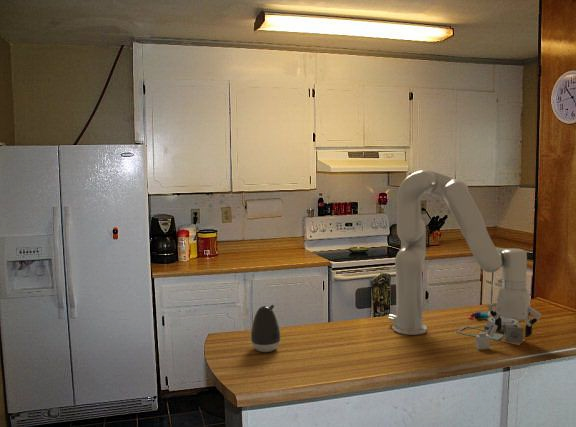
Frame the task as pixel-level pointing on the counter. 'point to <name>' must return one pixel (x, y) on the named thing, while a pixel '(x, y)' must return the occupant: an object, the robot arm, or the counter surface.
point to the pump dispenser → (265, 330)
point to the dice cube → (513, 332)
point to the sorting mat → (495, 337)
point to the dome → (505, 320)
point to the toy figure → (481, 315)
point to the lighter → (485, 338)
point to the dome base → (491, 321)
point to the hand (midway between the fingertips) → (513, 333)
